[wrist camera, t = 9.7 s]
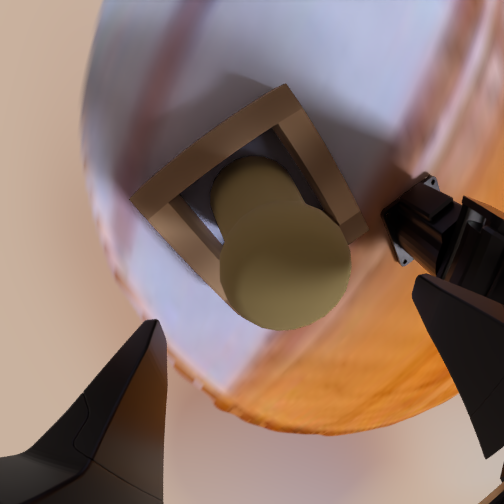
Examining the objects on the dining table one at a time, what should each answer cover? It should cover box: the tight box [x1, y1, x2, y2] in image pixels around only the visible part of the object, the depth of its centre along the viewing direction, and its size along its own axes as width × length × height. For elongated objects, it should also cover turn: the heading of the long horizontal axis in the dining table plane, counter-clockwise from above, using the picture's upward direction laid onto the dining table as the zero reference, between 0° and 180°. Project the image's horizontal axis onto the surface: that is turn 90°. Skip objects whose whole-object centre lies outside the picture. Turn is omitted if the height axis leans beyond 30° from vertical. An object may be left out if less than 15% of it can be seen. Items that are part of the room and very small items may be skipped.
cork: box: [210, 156, 351, 331], centre depth 14 cm, size 6×6×11 cm
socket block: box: [129, 84, 369, 315], centre depth 18 cm, size 11×11×3 cm
